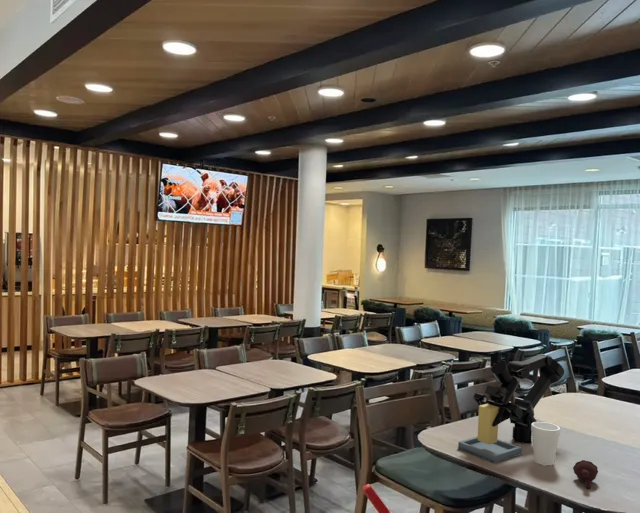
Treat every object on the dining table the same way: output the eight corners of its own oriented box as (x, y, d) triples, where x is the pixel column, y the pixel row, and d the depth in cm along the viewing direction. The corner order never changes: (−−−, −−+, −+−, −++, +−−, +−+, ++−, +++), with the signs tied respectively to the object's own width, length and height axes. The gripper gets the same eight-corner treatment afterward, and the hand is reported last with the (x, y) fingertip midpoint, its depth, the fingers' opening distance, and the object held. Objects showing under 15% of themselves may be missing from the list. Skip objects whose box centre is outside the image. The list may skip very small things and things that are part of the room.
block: (486, 437, 202) (487, 403, 201) (497, 442, 198) (498, 407, 197) (477, 440, 199) (478, 405, 199) (488, 444, 195) (490, 409, 194)
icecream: (570, 451, 185) (571, 471, 171) (594, 450, 182) (596, 470, 168) (575, 471, 185) (576, 492, 171) (599, 470, 182) (601, 491, 168)
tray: (485, 440, 210) (485, 434, 210) (521, 454, 197) (521, 447, 197) (458, 448, 201) (458, 441, 201) (494, 463, 188) (494, 456, 188)
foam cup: (561, 469, 185) (562, 431, 185) (532, 465, 187) (534, 429, 187) (554, 458, 194) (556, 423, 194) (527, 455, 196) (529, 420, 196)
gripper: (476, 371, 208) (457, 404, 202) (519, 383, 193) (499, 418, 187) (488, 389, 213) (469, 421, 207) (531, 401, 198) (512, 436, 191)
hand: (486, 423), depth 198 cm, fingers closed on block, 5 cm apart
